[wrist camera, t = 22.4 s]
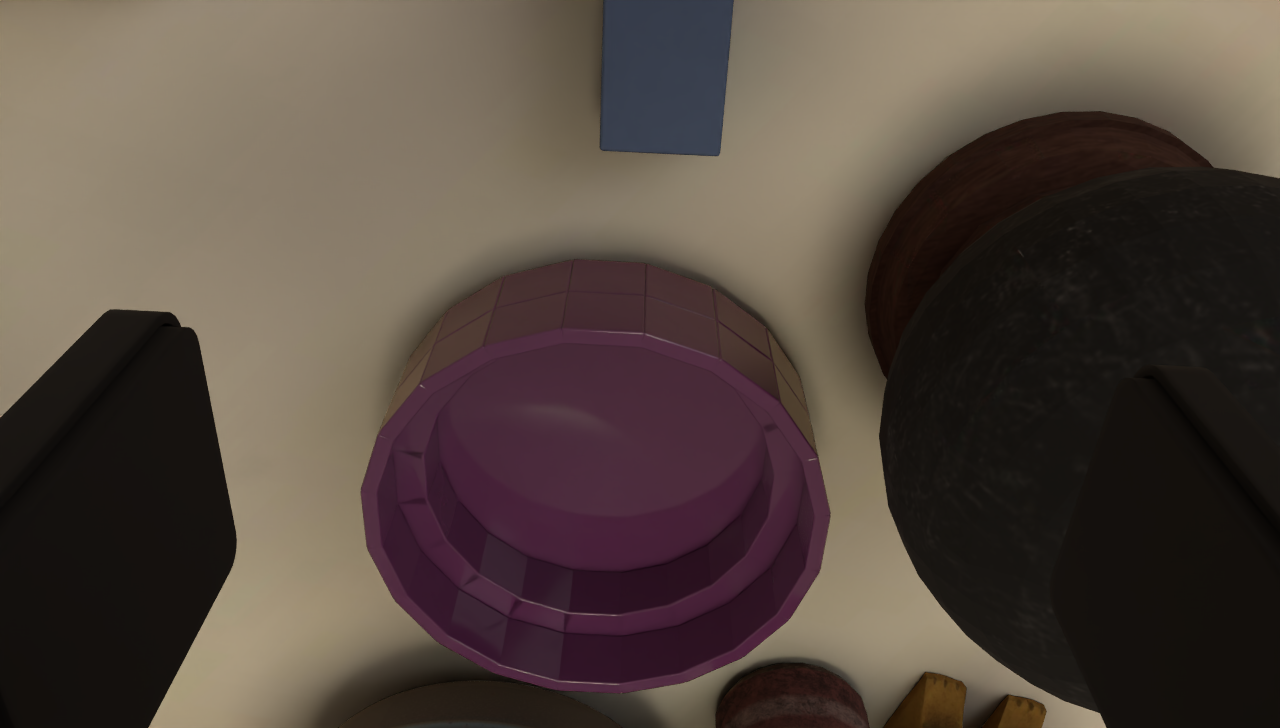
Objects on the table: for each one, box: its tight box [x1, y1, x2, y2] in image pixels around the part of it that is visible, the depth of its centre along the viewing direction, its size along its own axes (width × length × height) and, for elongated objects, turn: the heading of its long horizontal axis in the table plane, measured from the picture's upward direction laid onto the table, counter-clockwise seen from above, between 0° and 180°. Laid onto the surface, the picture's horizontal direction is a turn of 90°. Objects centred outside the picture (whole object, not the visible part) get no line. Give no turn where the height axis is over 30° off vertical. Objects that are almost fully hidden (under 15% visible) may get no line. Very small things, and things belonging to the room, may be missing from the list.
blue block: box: [600, 0, 734, 156], centre depth 27 cm, size 6×3×3 cm, turn 177°
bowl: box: [361, 259, 831, 694], centre depth 33 cm, size 14×14×5 cm
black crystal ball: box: [865, 111, 1280, 713], centre depth 26 cm, size 13×13×15 cm
